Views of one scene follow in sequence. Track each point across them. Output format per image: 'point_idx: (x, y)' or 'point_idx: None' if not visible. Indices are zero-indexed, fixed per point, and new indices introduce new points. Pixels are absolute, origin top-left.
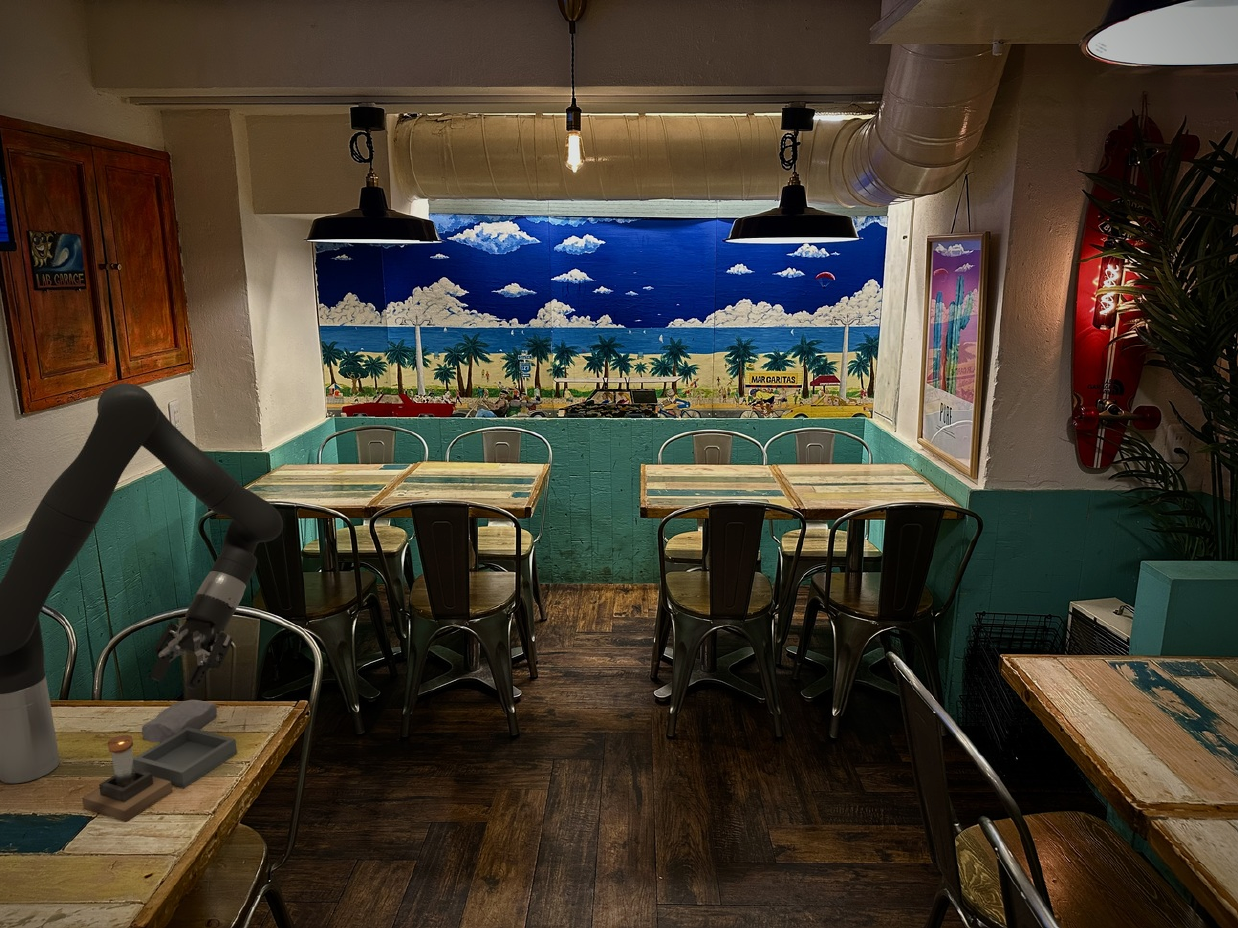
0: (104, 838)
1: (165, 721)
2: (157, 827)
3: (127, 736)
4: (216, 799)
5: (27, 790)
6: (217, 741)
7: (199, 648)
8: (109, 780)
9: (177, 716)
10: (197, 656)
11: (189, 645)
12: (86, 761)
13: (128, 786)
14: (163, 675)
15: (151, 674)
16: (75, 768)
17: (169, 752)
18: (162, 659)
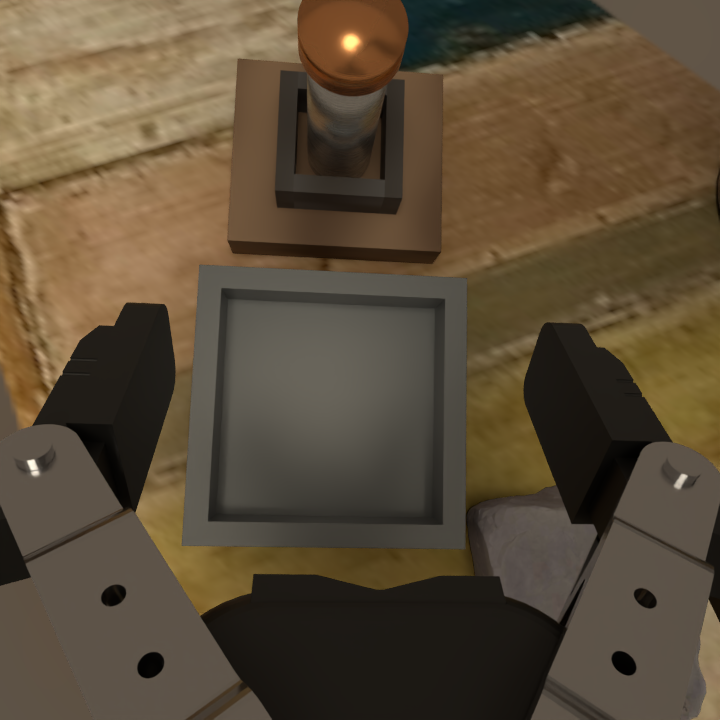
0: (236, 4)
1: (570, 526)
2: (120, 89)
3: (352, 64)
4: (44, 266)
5: (687, 116)
6: (269, 520)
7: (60, 577)
8: (390, 109)
9: (563, 586)
10: (111, 507)
11: (352, 633)
12: (675, 299)
13: (287, 99)
14: (535, 419)
15: (584, 329)
16: (669, 255)
17: (431, 423)
18: (608, 432)
